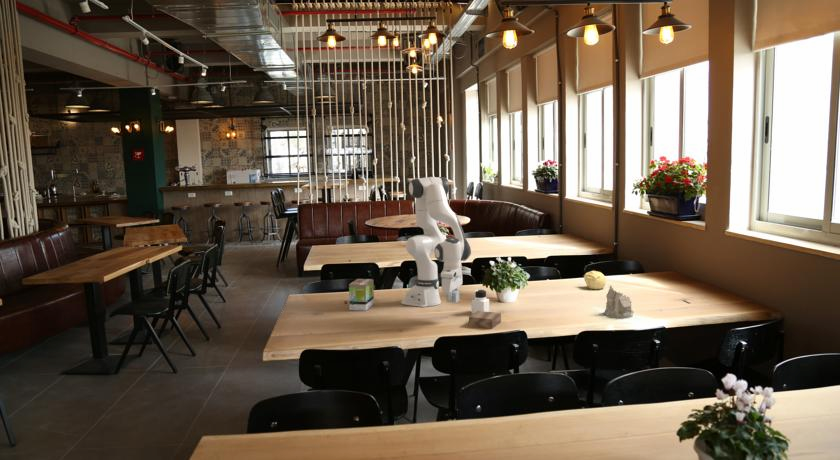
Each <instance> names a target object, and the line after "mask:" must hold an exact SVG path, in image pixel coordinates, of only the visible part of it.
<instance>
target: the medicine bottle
mask: <svg viewBox="0 0 840 460" xmlns="http://www.w3.org/2000/svg"><path fill="white" fill-rule="evenodd" d="M470 301H471V303H470V304H471V315H473V314H474V313H476V312H477V311H485V312H490V299H489V298H487V291H486V290H484V289H476V290H475V291H474V299H472V300H470Z"/></svg>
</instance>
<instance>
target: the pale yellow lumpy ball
mask: <svg viewBox="0 0 840 460" xmlns="http://www.w3.org/2000/svg"><path fill="white" fill-rule="evenodd" d="M583 278H584V279H583V280H584V283H585V284H586V287H587V288H588V289H591V290H601V289H603V288H605V286H606V283H607V279H606V276H605V275H604V274H603V273H602V272H601V271H598V270H597V271H596V270H591V271H588V272H586V273H585V274H584V275H583Z"/></svg>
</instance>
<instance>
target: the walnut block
mask: <svg viewBox="0 0 840 460" xmlns="http://www.w3.org/2000/svg"><path fill="white" fill-rule="evenodd" d="M501 323H502V313H501V312H493V311H492V312H491V311H489V312H485V311H477V312H476V313H474V314H471V315H470V316H468V326H469V327H474V328H479V329H480V328H482V329H490V330H491V329H492V330H493V329H494V328H495V327H497V326H498V325H500V324H501Z"/></svg>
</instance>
